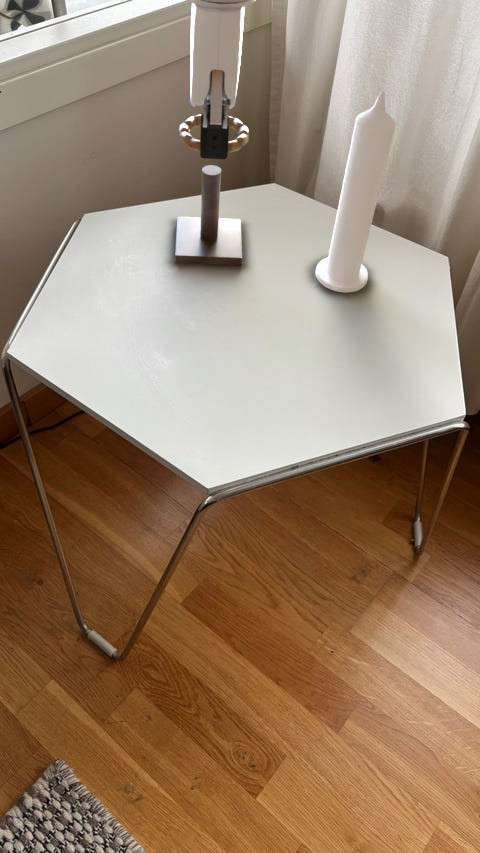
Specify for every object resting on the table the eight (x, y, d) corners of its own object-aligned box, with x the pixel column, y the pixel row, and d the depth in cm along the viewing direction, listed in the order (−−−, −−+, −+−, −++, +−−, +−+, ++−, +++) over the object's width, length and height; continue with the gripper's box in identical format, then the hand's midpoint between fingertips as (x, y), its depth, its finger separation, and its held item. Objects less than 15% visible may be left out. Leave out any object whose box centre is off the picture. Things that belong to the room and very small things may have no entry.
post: (175, 262, 95) (174, 188, 87) (177, 223, 101) (177, 150, 92) (241, 265, 96) (248, 191, 87) (240, 226, 102) (246, 153, 93)
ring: (178, 154, 83) (178, 145, 82) (180, 120, 89) (180, 110, 88) (249, 157, 84) (250, 147, 83) (246, 122, 89) (247, 113, 88)
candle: (366, 296, 93) (415, 111, 74) (313, 288, 94) (348, 101, 75) (368, 264, 98) (415, 81, 79) (317, 256, 98) (351, 72, 79)
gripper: (184, -51, 75) (183, 118, 89) (179, 7, 65) (179, 187, 79) (255, -47, 75) (243, 121, 89) (261, 12, 65) (247, 190, 79)
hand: (213, 151), depth 84 cm, fingers closed on ring, 1 cm apart
